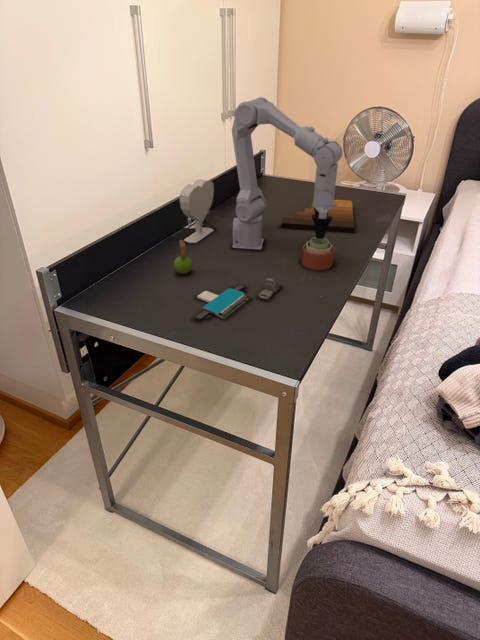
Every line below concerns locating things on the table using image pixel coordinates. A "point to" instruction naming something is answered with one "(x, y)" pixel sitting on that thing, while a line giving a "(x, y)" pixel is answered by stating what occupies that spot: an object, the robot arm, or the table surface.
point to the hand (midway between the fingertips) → (319, 232)
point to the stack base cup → (317, 259)
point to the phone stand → (222, 302)
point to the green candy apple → (182, 260)
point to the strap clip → (268, 289)
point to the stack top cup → (318, 251)
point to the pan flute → (340, 215)
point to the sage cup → (319, 243)
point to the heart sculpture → (197, 206)
